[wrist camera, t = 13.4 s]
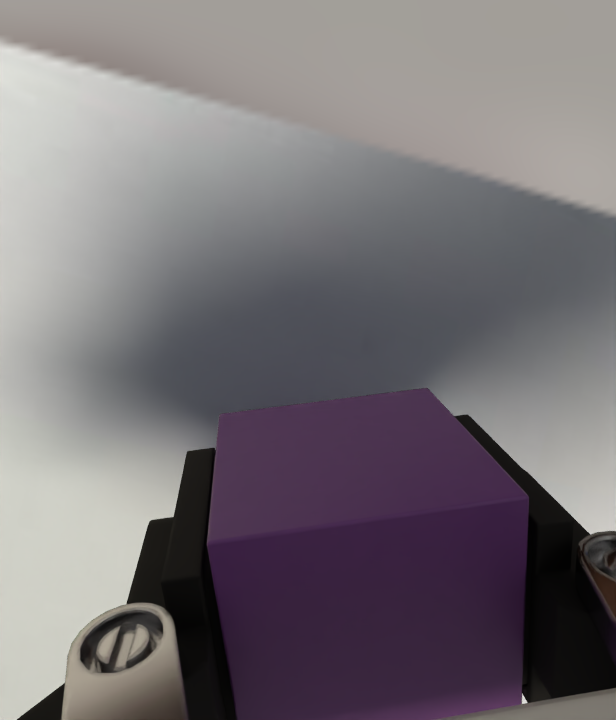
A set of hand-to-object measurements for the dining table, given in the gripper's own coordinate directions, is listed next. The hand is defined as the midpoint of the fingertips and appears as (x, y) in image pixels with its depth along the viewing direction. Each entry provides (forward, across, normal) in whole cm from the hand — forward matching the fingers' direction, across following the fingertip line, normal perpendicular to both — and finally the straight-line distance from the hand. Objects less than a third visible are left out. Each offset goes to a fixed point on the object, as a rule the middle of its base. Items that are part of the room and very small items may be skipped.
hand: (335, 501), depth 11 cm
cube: (0, 0, 0) cm, 0 cm away
